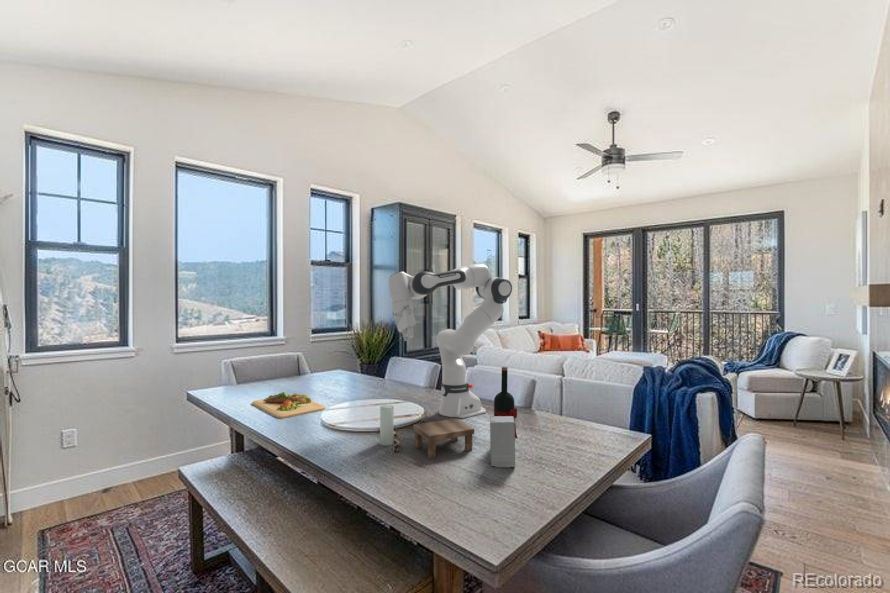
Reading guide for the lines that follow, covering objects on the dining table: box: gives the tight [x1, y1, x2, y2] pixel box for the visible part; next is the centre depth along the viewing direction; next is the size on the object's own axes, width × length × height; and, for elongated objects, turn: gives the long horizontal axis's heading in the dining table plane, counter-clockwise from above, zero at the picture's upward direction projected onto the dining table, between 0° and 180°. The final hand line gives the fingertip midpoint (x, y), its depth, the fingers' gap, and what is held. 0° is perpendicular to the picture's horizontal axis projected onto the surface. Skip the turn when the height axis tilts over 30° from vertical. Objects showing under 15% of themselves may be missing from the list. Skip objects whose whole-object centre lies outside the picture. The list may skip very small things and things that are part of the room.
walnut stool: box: [413, 417, 475, 459], centre depth 164 cm, size 18×14×8 cm
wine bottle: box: [493, 366, 519, 440], centre depth 165 cm, size 8×10×30 cm
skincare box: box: [489, 415, 516, 468], centre depth 150 cm, size 8×7×16 cm
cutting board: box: [251, 391, 326, 420], centre depth 218 cm, size 35×23×8 cm
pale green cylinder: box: [379, 404, 395, 447], centre depth 169 cm, size 5×5×14 cm
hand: (409, 339), depth 194 cm, fingers open, 8 cm apart
